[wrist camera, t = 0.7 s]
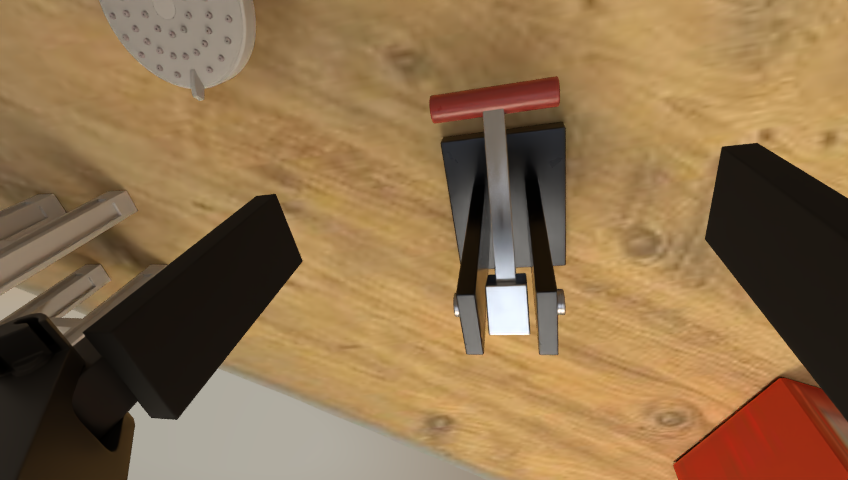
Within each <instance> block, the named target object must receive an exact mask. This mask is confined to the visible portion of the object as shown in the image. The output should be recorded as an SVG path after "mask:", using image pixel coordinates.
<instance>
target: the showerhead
mask: <svg viewBox="0 0 848 480" xmlns="http://www.w3.org/2000/svg"><path fill="white" fill-rule="evenodd" d="M99 1H100V4H101V7H102V9H103V12H104V14H105V16H106V18H107V20H108V22H109V24H110V26H111V28H112V30H113V31H114V33H115V34H116V36H117V37H118V39H119V40H120V42H121V43H122V44H123V45H124V47H125V48H126V49H127V50H128V52H129V53H130V54H131V55H132V56H133V57H134V58H135V59H136V60H137V61H138V62H139V63H140V64H142V65H143V66H144V67H145V68H146V69H147V70H149V71H150V72H152V73H153V74H155V75H156V76H158V77H159V78H161V79H163V80H165V81H167V82H169V83H171V84H174V85H177V86H180V87H184V88H189V89H191V90H192V95H193V97H195V98H196V99H197V100H199V101H200V100H204V89H205V88H210V87H213V86H216V85H218V84H221V83H223V82H225V81H227V80H230V79H232V78H233V77H235V76H236V75H237V74H238V73H239V72H240V71H241V70H242V69H243V68H244V67H245V65H246V64H247V62H248V60H249V58H250V56H251V53H252V50H253V47H254V43H255V36H256V16H255V8H254V3H253V0H99Z"/></svg>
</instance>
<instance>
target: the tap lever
mask: <svg viewBox="0 0 848 480" xmlns="http://www.w3.org/2000/svg"><path fill="white" fill-rule="evenodd" d="M559 103H560V85H559V78H558V77H557V76H556V77H549V78H543V79H536V80H530V81H523V82H517V83H510V84H504V85H497V86H491V87H484V88H478V89H471V90H465V91H459V92H452V93H446V94H439V95H433V96H430V100H429V106H430V114H431V118H432V121H433V123H442V122H449V121H457V120H464V119H471V118H478V117H483V125H484V137H485V150H486V163H487V176H488V188H489V201H490V214H491V227H492V239H493V252H494V265H495V275H488V277H487V281H486V285H485V294H486V306H487V318H488V330H489V335H530V322H529V307H528V291H527V279H526V274H525V273H520V274H516V265H515V251H514V237H513V223H512V208H511V194H510V180H509V165H508V151H507V137H506V123H505V114H508V113H515V112H522V111H529V110H537V109H544V108H551V107H558V106H559Z"/></svg>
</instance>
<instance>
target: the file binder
mask: <svg viewBox="0 0 848 480" xmlns="http://www.w3.org/2000/svg"><path fill="white" fill-rule="evenodd" d="M673 466H674V469H675V472H676V474H677V477H678V480H848V422H847V420H846V419H845V418H844V417H843V415H842V414H841V413H840V411H839V410H838V409H837V408H836V406H835V405H834V404H833V403H832V401H831V400H830V399H829V397H828V396H827V395H826V394H825V392H824V391H823V390H822V389H820V388H817V387H814V386H810V385H807V384H804V383H800V382H797V381H794V380H790V379H787V378H784V377H783V378H779V379H778V380H777V381H775V382H774V383H773V384H772V385H771V386H769V387H768V388H767V389H766V390H764V391H763V392H762V393H761V394H760V395H758V396H757V397H756V398H755V399H753V400H752V401H751V402H750V403H748V404H747V405H746V406H745V407H744V408H742V409H741V410H740V411H739V412H737V413H736V414H735V415H734V416H733V417H731V418H730V419H729V420H728V421H726V422H725V423H724V424H723V425H722V426H720V427H719V428H718V429H717V430H715V431H714V432H713V433H712V434H710V435H709V436H708V437H707V438H706V439H704V440H703V441H702V442H701V443H699V444H698V445H697V446H696V447H695V448H693V449H692V450H691V451H690V452H688V453H687V454H686V455H685V456H684V457H682V458H681V459H680V460H679V461H677V462H676V463H675V464H674V465H673Z"/></svg>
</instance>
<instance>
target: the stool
mask: <svg viewBox="0 0 848 480" xmlns="http://www.w3.org/2000/svg"><path fill="white" fill-rule="evenodd" d="M135 212H137V209H136V207H135V205H134V203H133V201H132V200H131V198H130V196H129V194H128V192H127V190H126V191H108V192H106V193H104V194H102V195H100V196H98V197H96V198H95V199H93V200H91V201H89V202H87V203H85V204H83V205H81V206H79V207H77V208H75V209H73V210H71V211H69V212H68V213H66V212H65V210H64V209H63V207H62V205H61V204H60V202H59V201H58V199H57V198H56V196H55V195H54V194H37V195H35V196H33V197H31V198H28V199H26V200H24V201H22V202H20V203H17V204H15V205H13V206H11V207H8V208H6V209H4V210H2V211H0V295H2V294H4V293H5V292H7V291H8V290H10V289H12V288H13V287H15V286H17V285H18V284H20V283H21V282H23V281H25V280H26V279H28V278H30V277H31V276H33V275H34V274H36V273H38V272H39V271H41V270H43V269H44V268H46V267H47V266H49V265H51V264H52V263H54V262H56V261H57V260H59V259H60V258H62V257H64V256H65V255H67V254H69V253H70V252H72V251H74V250H75V249H77V248H78V247H80V246H82V245H83V244H85V243H87V242H88V241H90V240H91V239H93V238H95V237H96V236H98V235H100V234H101V233H103V232H104V231H106V230H108V229H109V228H111V227H113V226H114V225H116V224H117V223H119V222H121V221H122V220H124V219H126V218H127V217H129V216H130V215H132V214H134V213H135ZM166 266H168V265H150V266H149V267H147V268H146V269H145V270H144V271H142V272H141V273H140V274H138V275H137V276H136V277H135V278H133V279H132V280H131V281H130V282H128V283H127V284H126V285H125V286H123V287H122V288H121V289H119V290H118V291H117V292H116V293H114V294H113V295H112V296H111V297H109V298H108V299H107V300H106V301H104V302H103V303H102V304H100V305H99V306H98V307H97V308H95V309H94V310H93V311H92V312H90V313H89V314H88V315H87V316H85V317H84V318H83V319H79V318H61V317H63V316H64V315H65V314H67V313H68V312H69V311H71V310H72V309H73V308H75V307H76V306H77V305H79V304H80V303H81V302H83V301H84V300H85V299H87V298H88V297H89V296H91V295H92V294H93V293H95V292H96V291H97V290H99V289H100V288H101V287H103V286H104V285H105V284H107V283H108V282H109V281H111V280H110V278H109V277H108V275H107V274H106V272H105V271H104V269H103V268H102V266H101V265H84V266H82V267H81V268H79V269H78V270H76V271H75V272H73V273H72V274H70V275H69V276H67V277H66V278H64V279H63V280H61V281H60V282H58V283H57V284H55V285H54V286H52V287H51V288H49V289H48V290H46V291H45V292H43V293H42V294H40V295H39V296H37V297H36V298H34V299H33V300H31V301H30V302H28V303H27V304H25V305H24V306H22V307H21V308H19V309H18V310H16V311H15V312H13V313H12V314H10V315H9V316H7V317H6V318H4V319H3V320H1V321H0V326H1V325H2V324H5V323H7V322H9V321H12V320H14V319H16V318H19V317H22V316H26V315H29V314H34V313H43V314H46V315H47V316H48V318H49V319H50V320H51V321H52V322H53V323H54V325H55V326H56V327H57V328H58V329H59V331H60V332H61V333H62V334H63V335H64V337H65V338H66V339H67V340H68V341H69V342H70V344H71V345H72V346H73V345H75V344H76V343H77V342H78V341H80V340H81V339H82V338H84V337H85V335H84V334H83V333H82V332H83V331H85V330H86V329H87V328H88V327H90V326H91V325H92V324H94V323H95V322H96V321H97V320H99V319H100V318H101V317H102V316H104V315H105V314H106V313H108V312H109V311H110V310H111V309H113V308H114V307H115V306H117V305H118V304H119V303H120V302H122V301H123V300H124V299H125V298H127V297H128V296H129V295H131V294H132V293H133V292H134V291H136V290H137V289H138V288H140V287H141V286H142V285H143V284H145V283H146V282H147V281H148V280H150V279H151V278H152V277H154V276H155V275H156V274H157V273H159V272H160V271H161V270H163V269H164V268H165V267H166Z"/></svg>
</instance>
